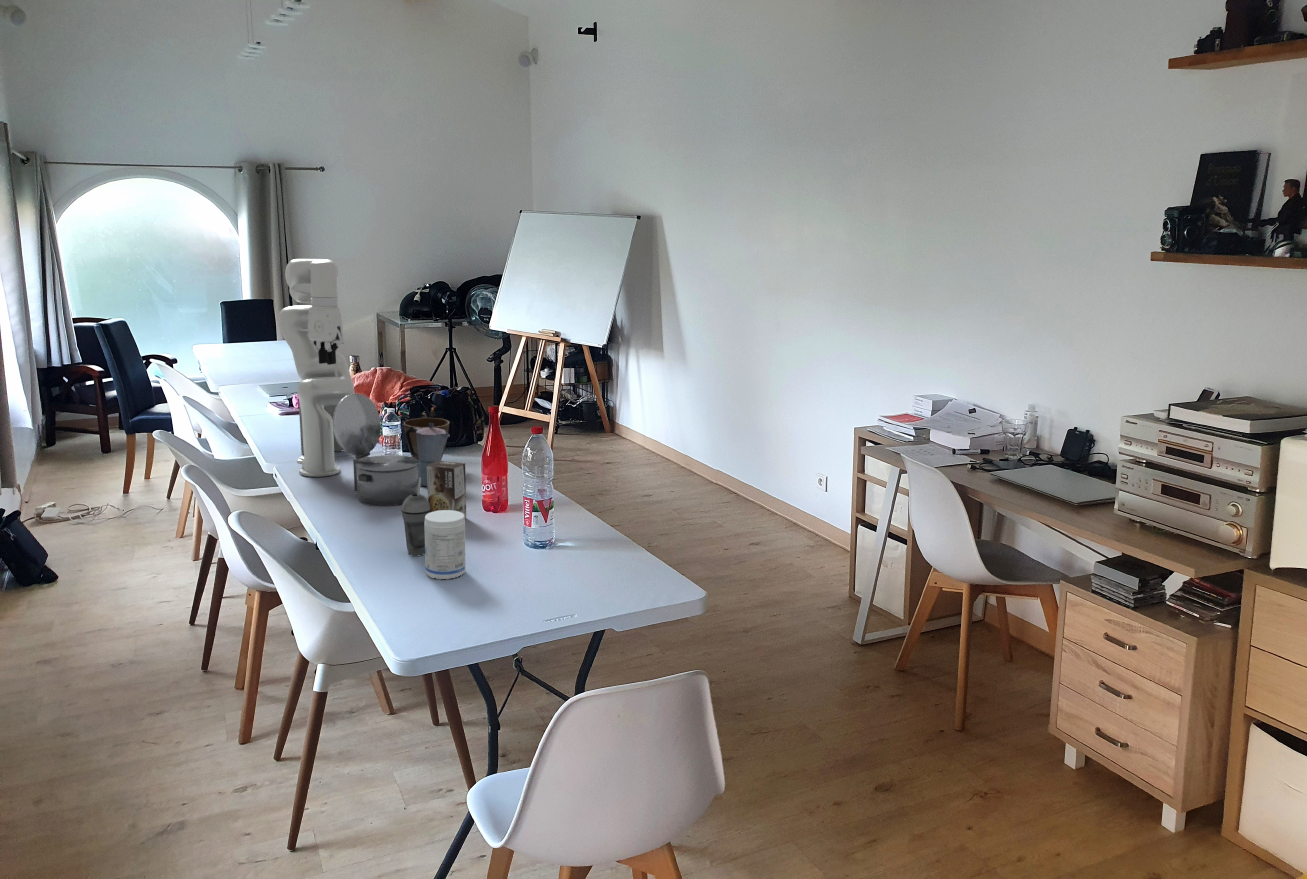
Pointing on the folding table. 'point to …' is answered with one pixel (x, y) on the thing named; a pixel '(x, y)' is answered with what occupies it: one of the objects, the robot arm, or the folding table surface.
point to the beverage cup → (415, 521)
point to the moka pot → (427, 447)
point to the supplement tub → (444, 544)
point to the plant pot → (424, 424)
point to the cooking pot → (385, 479)
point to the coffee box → (446, 486)
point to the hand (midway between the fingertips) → (327, 363)
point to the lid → (356, 425)
